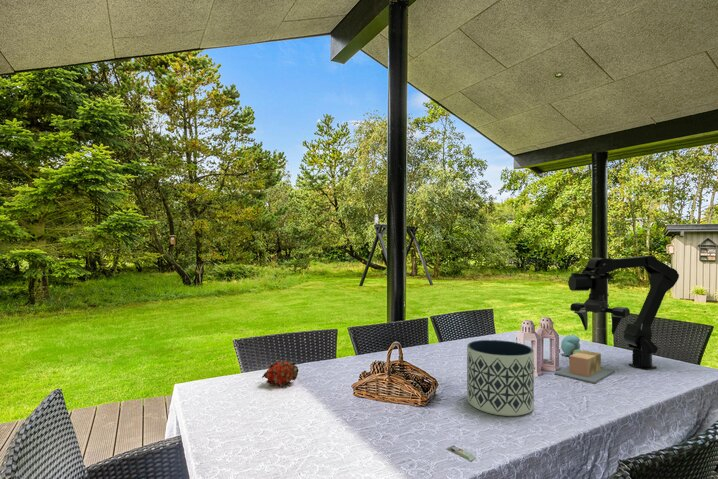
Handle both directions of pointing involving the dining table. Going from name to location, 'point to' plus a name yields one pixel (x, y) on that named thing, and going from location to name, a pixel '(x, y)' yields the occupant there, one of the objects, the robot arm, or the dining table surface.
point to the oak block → (585, 363)
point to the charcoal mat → (591, 379)
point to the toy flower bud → (570, 345)
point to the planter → (500, 377)
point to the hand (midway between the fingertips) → (599, 332)
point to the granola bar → (461, 452)
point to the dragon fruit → (281, 373)
